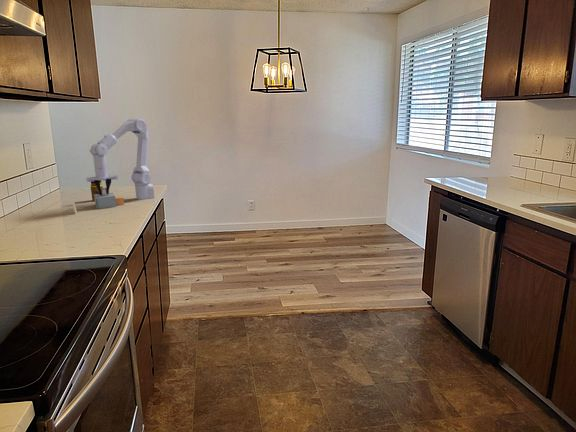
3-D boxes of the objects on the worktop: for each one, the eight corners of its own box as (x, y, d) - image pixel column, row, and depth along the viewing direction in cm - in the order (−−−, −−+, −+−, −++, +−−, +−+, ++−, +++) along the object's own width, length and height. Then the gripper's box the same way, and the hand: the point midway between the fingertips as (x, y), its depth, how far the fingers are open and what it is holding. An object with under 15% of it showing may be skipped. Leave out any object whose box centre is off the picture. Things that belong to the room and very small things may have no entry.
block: (123, 203, 231) (122, 196, 230) (124, 205, 227) (123, 197, 226) (115, 204, 229) (114, 197, 228) (116, 206, 226) (115, 198, 225)
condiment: (103, 203, 237) (100, 181, 234) (87, 203, 236) (83, 182, 233) (106, 200, 244) (104, 179, 241) (91, 201, 243) (88, 179, 240)
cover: (113, 203, 231) (111, 186, 229) (116, 206, 223) (114, 189, 220) (95, 205, 227) (93, 188, 225) (97, 208, 219) (94, 191, 216)
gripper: (85, 170, 213) (89, 197, 217) (117, 167, 220) (120, 194, 223) (84, 168, 219) (88, 195, 223) (115, 166, 226) (118, 191, 229)
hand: (104, 194), depth 223 cm, fingers closed on cover, 3 cm apart
